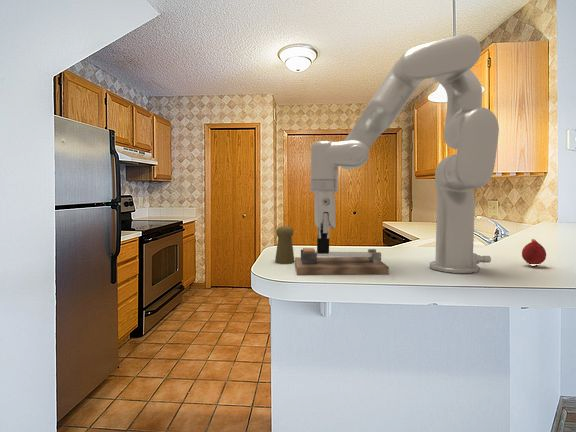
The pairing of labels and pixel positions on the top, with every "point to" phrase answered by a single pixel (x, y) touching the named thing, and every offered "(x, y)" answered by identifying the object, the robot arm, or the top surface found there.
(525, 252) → the onion
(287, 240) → the pepper mill
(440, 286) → the top surface
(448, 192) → the robot arm
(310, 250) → the hinged lever bar
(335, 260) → the board
